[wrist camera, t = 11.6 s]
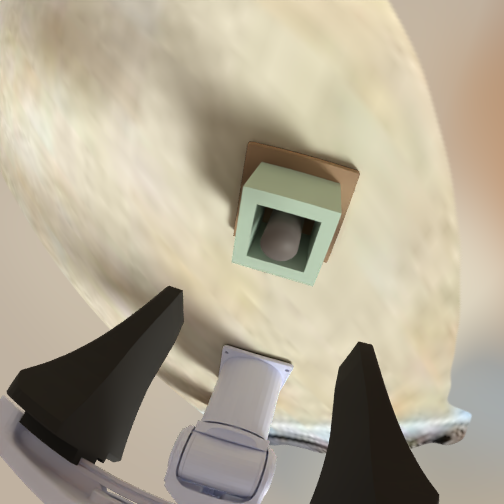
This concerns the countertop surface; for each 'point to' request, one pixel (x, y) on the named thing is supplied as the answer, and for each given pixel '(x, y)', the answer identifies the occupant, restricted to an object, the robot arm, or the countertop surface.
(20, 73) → the countertop surface
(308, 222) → the post base
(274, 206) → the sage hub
